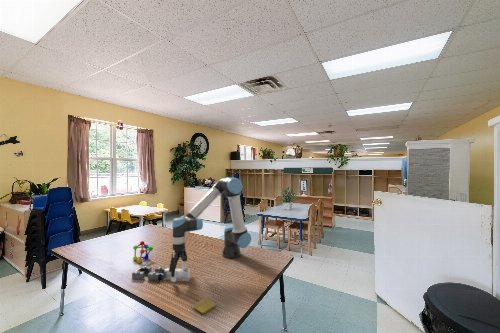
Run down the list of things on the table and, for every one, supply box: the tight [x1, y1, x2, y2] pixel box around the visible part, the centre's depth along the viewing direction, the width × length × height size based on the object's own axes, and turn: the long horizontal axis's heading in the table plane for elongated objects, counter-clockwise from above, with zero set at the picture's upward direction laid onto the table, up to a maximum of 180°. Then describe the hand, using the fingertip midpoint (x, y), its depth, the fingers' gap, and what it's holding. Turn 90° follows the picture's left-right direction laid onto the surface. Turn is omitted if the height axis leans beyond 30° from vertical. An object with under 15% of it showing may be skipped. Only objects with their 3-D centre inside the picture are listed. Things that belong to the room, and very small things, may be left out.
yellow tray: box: [192, 297, 217, 315], centre depth 110 cm, size 9×9×2 cm
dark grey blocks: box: [131, 265, 167, 282], centre depth 143 cm, size 21×10×5 cm, turn 81°
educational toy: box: [132, 240, 154, 264], centre depth 170 cm, size 16×13×15 cm
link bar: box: [164, 267, 191, 282], centre depth 140 cm, size 16×4×6 cm, turn 82°
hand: (178, 276), depth 140 cm, fingers open, 13 cm apart
